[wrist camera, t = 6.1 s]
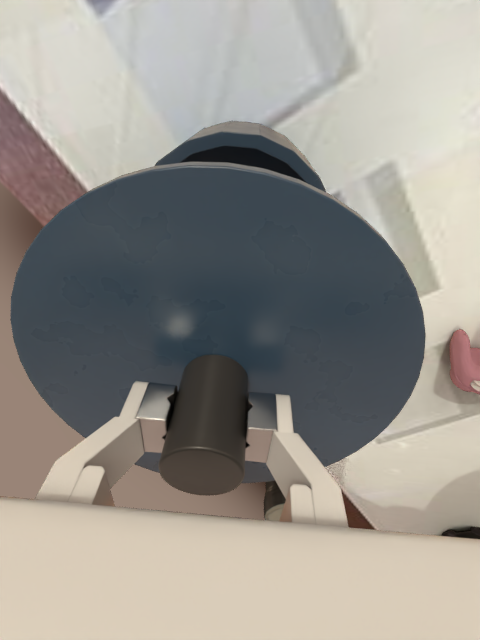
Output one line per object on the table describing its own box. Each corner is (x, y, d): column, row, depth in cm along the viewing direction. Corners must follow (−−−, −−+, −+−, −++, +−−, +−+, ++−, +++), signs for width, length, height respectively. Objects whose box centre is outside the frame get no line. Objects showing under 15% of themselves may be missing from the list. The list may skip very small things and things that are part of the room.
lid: (-38, 132, 10) (-270, 170, 5) (495, 183, 10) (676, 259, 6) (74, 449, 19) (19, 556, 14) (351, 474, 19) (378, 588, 15)
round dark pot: (156, 113, 27) (120, 121, 20) (334, 130, 27) (361, 144, 20) (164, 274, 35) (141, 319, 28) (301, 286, 36) (312, 334, 29)
